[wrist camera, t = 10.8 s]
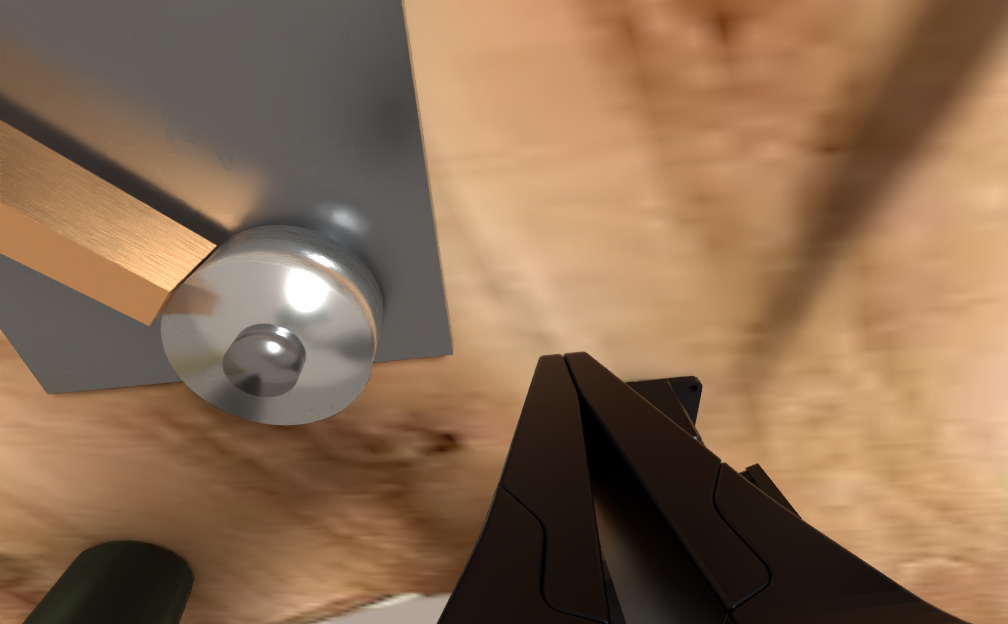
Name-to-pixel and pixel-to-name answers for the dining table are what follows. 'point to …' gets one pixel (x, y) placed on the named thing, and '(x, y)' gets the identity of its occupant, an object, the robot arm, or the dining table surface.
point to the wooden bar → (201, 288)
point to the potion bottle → (118, 588)
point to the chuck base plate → (223, 154)
